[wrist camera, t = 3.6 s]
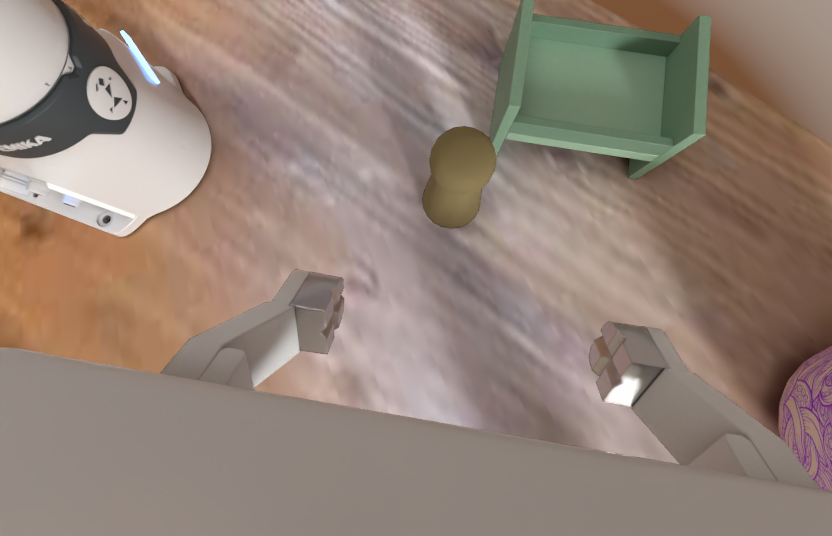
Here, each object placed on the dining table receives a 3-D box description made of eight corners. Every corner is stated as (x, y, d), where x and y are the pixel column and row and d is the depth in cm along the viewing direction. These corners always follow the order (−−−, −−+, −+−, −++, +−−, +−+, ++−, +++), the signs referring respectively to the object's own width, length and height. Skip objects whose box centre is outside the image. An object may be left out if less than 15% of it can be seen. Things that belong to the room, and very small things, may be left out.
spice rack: (486, 155, 38) (508, 105, 29) (500, 63, 40) (524, -11, 31) (637, 179, 38) (705, 135, 29) (644, 85, 39) (711, 16, 30)
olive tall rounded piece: (433, 165, 38) (440, 102, 27) (487, 183, 37) (516, 127, 27) (414, 217, 37) (413, 174, 26) (469, 236, 37) (491, 200, 26)
